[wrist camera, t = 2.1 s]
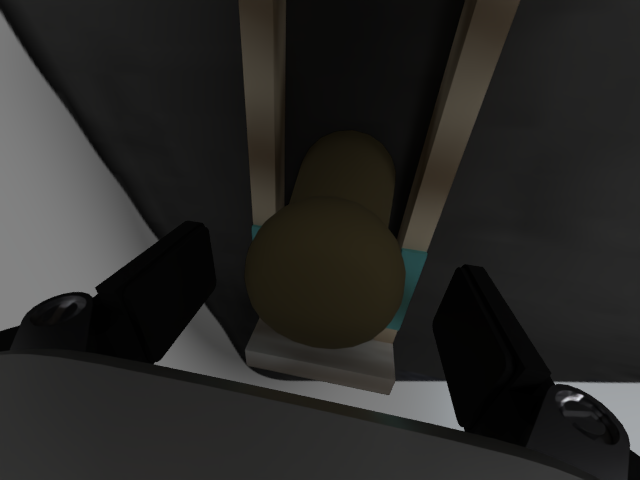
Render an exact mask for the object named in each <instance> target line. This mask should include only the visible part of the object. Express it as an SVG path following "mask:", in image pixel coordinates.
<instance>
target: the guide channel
mask: <svg viewBox="0 0 640 480" xmlns="http://www.w3.org/2000/svg"><path fill="white" fill-rule="evenodd" d="M519 2H520V0H465V2H464V6H463V9H462V13H461V16H460V20H459V23H458V27H457V30H456V34H455V37H454V41H453V44H452V48H451V51H450V55H449V58H448V62H447V65H446V69H445V72H444V76H443V79H442V83H441V86H440V90H439V93H438V97H437V100H436V104H435V107H434V111H433V114H432V118H431V121H430V125H429V128H428V132H427V135H426V139H425V142H424V146H423V149H422V153H421V156H420V160H419V163H418V167H417V170H416V174H415V177H414V181H413V184H412V188H411V191H410V195H409V198H408V202H407V205H406V209H405V212H404V216H403V219H402V223H401V226H400V230H399V233H398V237H397V241H398V245H399V248H400V251H401V254H402V257H403V260H404V265H405V270H406V277H405V286H404V294H403V299H402V303H401V306H400V307H399V309H398V311H397V313H396V314H395V316H394V318H393V319H392V321H391V322H390V323H389V325H388V326H387V327H386V328H385V329H384V330H383V331H382V332H381V333H379V334H378V335H377V336H376V337H374V338H373V339H372V340H370V341H368V342H365V343H362V344H360V345H357V346H355V347H349V348H341V349H324V348H313V347H310V346H307V345H303V344H300V343H296V342H294V341H292V340H290V339H288V338H286V337H284V336H282V335H280V334H278V333H276V332H275V331H274V330H273V329H272V328H271V327H269V326H268V325H267V324H266V323H265V322H263V321H262V320H261V318H260V317H259V320H258V323H257V325H256V327H255V329H254V331H253V333H252V336H251V338H250V340H249V342H248V344H247V346H246V349H245V354H246V363H247V366H252V367H257V368H261V369H266V370H271V371H276V372H280V373H285V374H290V375H295V376H299V377H304V378H309V379H314V380H318V381H323V382H328V383H333V384H338V385H343V386H347V387H352V388H357V389H362V390H366V391H371V392H376V393H381V394H386V395H389V394H390V392H391V390H392V387H393V385H394V383H395V368H394V356H393V341H394V339H395V336H396V333H397V331H398V330H399V329H400V327H401V324H402V321H403V319H404V316H405V313H406V311H407V308H408V305H409V303H410V300H411V297H412V295H413V292H414V290H415V287H416V284H417V282H418V279H419V276H420V274H421V271H422V268H423V266H424V263H425V260H426V258H427V255H428V254H427V250H428V247H429V244H430V242H431V239H432V236H433V234H434V231H435V228H436V226H437V223H438V220H439V217H440V215H441V212H442V209H443V207H444V204H445V201H446V199H447V196H448V193H449V191H450V188H451V185H452V183H453V180H454V177H455V174H456V172H457V169H458V166H459V164H460V161H461V158H462V156H463V153H464V150H465V148H466V145H467V142H468V139H469V137H470V134H471V131H472V129H473V126H474V123H475V121H476V118H477V115H478V113H479V110H480V107H481V104H482V102H483V99H484V96H485V94H486V91H487V88H488V86H489V83H490V80H491V78H492V75H493V72H494V69H495V67H496V64H497V61H498V59H499V56H500V53H501V51H502V48H503V45H504V43H505V40H506V37H507V34H508V32H509V29H510V26H511V24H512V21H513V18H514V16H515V13H516V10H517V8H518V5H519ZM239 15H240V30H241V45H242V60H243V76H244V91H245V106H246V121H247V137H248V152H249V167H250V182H251V198H252V213H253V226H252V241H253V239H254V238H255V236H256V234H257V232H258V230H259V229H260V228H261V226H262V225H263V224H264V222H265V221H266V220H268V219H269V218H270V217H271V216H273V215H274V214H275V213H276V212H278V211H279V210H280V209H281V208H283V207H284V189H285V65H286V0H239Z"/></svg>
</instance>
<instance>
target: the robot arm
mask: <svg viewBox="0 0 640 480" xmlns="http://www.w3.org/2000/svg"><path fill="white" fill-rule="evenodd" d="M215 286H216V276H215V269H214V263H213V256H212V249H211V243H210V236H209V230H208V228H206V227H205V226H204V224H203V223H199V222H193V221H185V222H184V223H182V224H181V225H180V226H178V227H177V228H176V229H174V230H173V231H172V232H170V233H169V234H167V235H166V236H165V237H163V238H162V239H161V240H159V241H158V242H157V243H155V244H154V245H153V246H151V247H150V248H148V249H147V250H146V251H144V252H143V253H142V254H140V255H139V256H137V257H136V258H135V259H134V260H132V261H131V262H129V263H128V264H127V265H125V266H124V267H122V268H121V269H120V270H118V271H117V272H116V273H114V274H113V275H112V276H110V277H109V278H107V279H106V280H105V281H103V282H102V283H101V284H99V285H98V286H97V287H95V288H96V290H97V293H98V294H97V295H96V296H95V297H93V298H92V296H90V295H89V294H87V293H83V292H72V293H66V294H61V295H58V296H55V297H52V298H50V299H47V300H45V301H43V302H41V303H40V304H38V305H36V306H35V307H33V308H32V309H31V310H30V311H29V312H28V313H27V314H26V315H25V316H24V318H23V320H22V322H21V324H20V326H17V327H13V328H10V329H6V330H3V331H0V480H640V456H638V455H637V454H635V453H634V452H633V451H631V450H630V442H629V437H628V434H627V432H626V431H625V429H624V427H623V425H622V424H621V423H620V421H619V420H618V419H617V418H616V416H615V415H614V414H613V413H612V412H611V411H610V410H609V409H608V408H606V407H605V406H604V405H603V404H602V403H601V402H599V401H598V400H596V399H595V398H593V397H592V396H591V395H589V394H587V393H585V392H583V391H582V390H580V389H578V388H574V387H572V386H569V385H563V384H556V385H555V384H554V382H553V381H552V379H551V377H550V374H551V372H550V371H549V369H548V367H547V366H546V364H545V363H544V361H543V360H542V358H541V356H540V355H539V353H538V352H537V350H536V349H535V347H534V346H533V344H532V342H531V341H530V339H529V338H528V336H527V335H526V333H525V331H524V330H523V328H522V327H521V325H520V324H519V322H518V321H517V319H516V317H515V316H514V314H513V313H512V311H511V310H510V308H509V306H508V305H507V303H506V302H505V300H504V299H503V297H502V296H501V294H500V292H499V291H498V289H497V288H496V286H495V285H494V283H493V282H492V280H491V278H490V277H489V275H488V274H487V272H486V271H485V269H484V268H483V267H479V266H473V265H466V264H465V265H463V266H462V267H461V268H459V267H458V268H457V269H456V270H455V272H454V275H453V277H452V279H451V281H450V284H449V286H448V288H447V290H446V293H445V295H444V297H443V299H442V302H441V304H440V306H439V308H438V311H437V313H436V315H435V317H434V320H433V332H434V336H435V340H436V343H437V347H438V351H439V355H440V358H441V362H442V366H443V370H444V373H445V377H446V381H447V384H448V388H449V392H450V396H451V400H452V403H453V407H454V410H455V414H456V418H457V421H458V424H459V425H460V426H461V427H464V430H465V432H464V431H459V430H456V429H451V428H447V427H443V426H439V425H434V424H430V423H425V422H420V421H416V420H412V419H407V418H402V417H398V416H394V415H389V414H384V413H380V412H375V411H371V410H366V409H362V408H357V407H352V406H348V405H343V404H339V403H334V402H329V401H325V400H320V399H315V398H310V397H306V396H301V395H297V394H291V393H287V392H283V391H278V390H273V389H268V388H263V387H259V386H254V385H249V384H245V383H240V382H235V381H230V380H226V379H221V378H216V377H211V376H207V375H202V374H197V373H192V372H187V371H183V370H178V369H173V368H168V367H163V366H158V365H154V363H155V362H158V361H159V360H161V359H162V358H163V356H164V355H165V353H166V352H167V351H168V349H169V348H170V347H171V346H172V344H173V343H174V342H175V340H176V339H177V338H178V336H179V335H180V334H181V332H182V331H183V330H184V329H185V327H186V326H187V325H188V323H189V322H190V321H191V319H192V318H193V317H194V316H195V314H196V313H197V311H198V310H199V309H200V307H201V306H202V305H203V304H204V302H205V301H206V300H207V298H208V297H209V296H210V294H211V293H212V292H213V291H214V289H215Z"/></svg>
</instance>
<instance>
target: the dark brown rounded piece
mask: <svg viewBox="0 0 640 480" xmlns="http://www.w3.org/2000/svg"><path fill="white" fill-rule="evenodd" d="M395 177H396V171H395V167H394V164H393V160H392V157H391V156H390V154H389V153H388V151H387V150H386V148H385V147H384V146H383V144H382V143H380V142H379V141H377V140H376V139H374V138H373V137H372V136H370V135H369V134H365V133H361V132H358V131H354V130H347V131H335V132H333V133H331V134H328V135H326V136H324V137H321V138H320V139H319V140H318V141H317V142H316V143H315V144H313V145H312V146H311V147H310V148H309V150H308V152H307V153H306V155H305V157H304V159H303V161H302V163H301V167H300V170H299V173H298V176H297V179H296V183H295V186H294V189H293V192H292V196H291V199H290V202H289V204H288V205H286V206H285V207H283V208H281V209H280V210H279V211H278V212H276V213H275V214H274V215H273V216H271V217H270V218H269V219H268V220H266V221H265V222H264V224H263V225H262V226H261V228H260V229H259V230H258V232H257V234H256V236H255V238H254V239H253V241H252V243H251V245H250V247H249V249H248V253H247V257H246V264H245V275H244V279H245V284H246V288H247V292H248V295H249V298H250V302H251V305H252V307H253V308H254V310H255V311H256V313H257V314H258V315H259V317H260V318H261V320H262V321H263V322H265V323H266V324H267V325H268V326H269V327H271V328H272V329H273V330H274V331H275V332H276V333H278V334H280V335H282V336H284V337H286V338H288V339H290V340H292V341H294V342H296V343H300V344H303V345H307V346H310V347H313V348H324V349H341V348H349V347H355V346H357V345H360V344H362V343H365V342H368V341H370V340H372V339H373V338H374V337H376V336H377V335H378V334H379V333H381V332H382V331H383V330H384V329H385V328H386V327H387V326H388V325H389V323H390V322H391V321H392V319H393V318H394V316H395V314H396V313H397V311H398V309H399V307H400V306H401V303H402V299H403V294H404V286H405V277H406V270H405V265H404V260H403V257H402V254H401V251H400V248H399V245H398V241H397V239H396V238H395V237H394V235H393V234H392V233H391V231H390V230H389V229H388V226H389V220H390V214H391V208H392V202H393V195H394V189H395Z"/></svg>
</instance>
